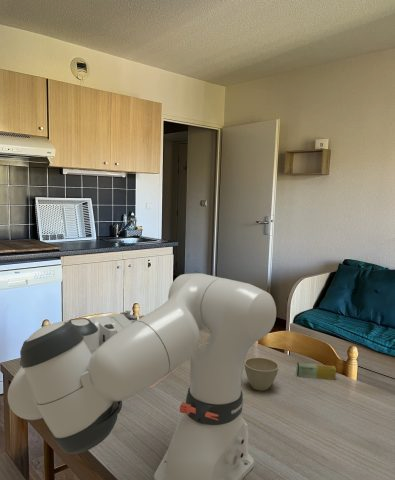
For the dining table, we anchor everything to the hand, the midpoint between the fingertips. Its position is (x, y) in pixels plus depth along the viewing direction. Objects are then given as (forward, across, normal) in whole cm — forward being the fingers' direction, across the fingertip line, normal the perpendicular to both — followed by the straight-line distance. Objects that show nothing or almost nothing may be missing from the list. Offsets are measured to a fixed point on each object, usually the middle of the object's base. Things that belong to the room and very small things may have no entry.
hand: (146, 325), depth 124 cm
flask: (+4, -31, -15) cm, 34 cm away
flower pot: (+28, +24, -15) cm, 39 cm away
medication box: (+48, +26, -15) cm, 56 cm away
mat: (-1, 0, -15) cm, 15 cm away
